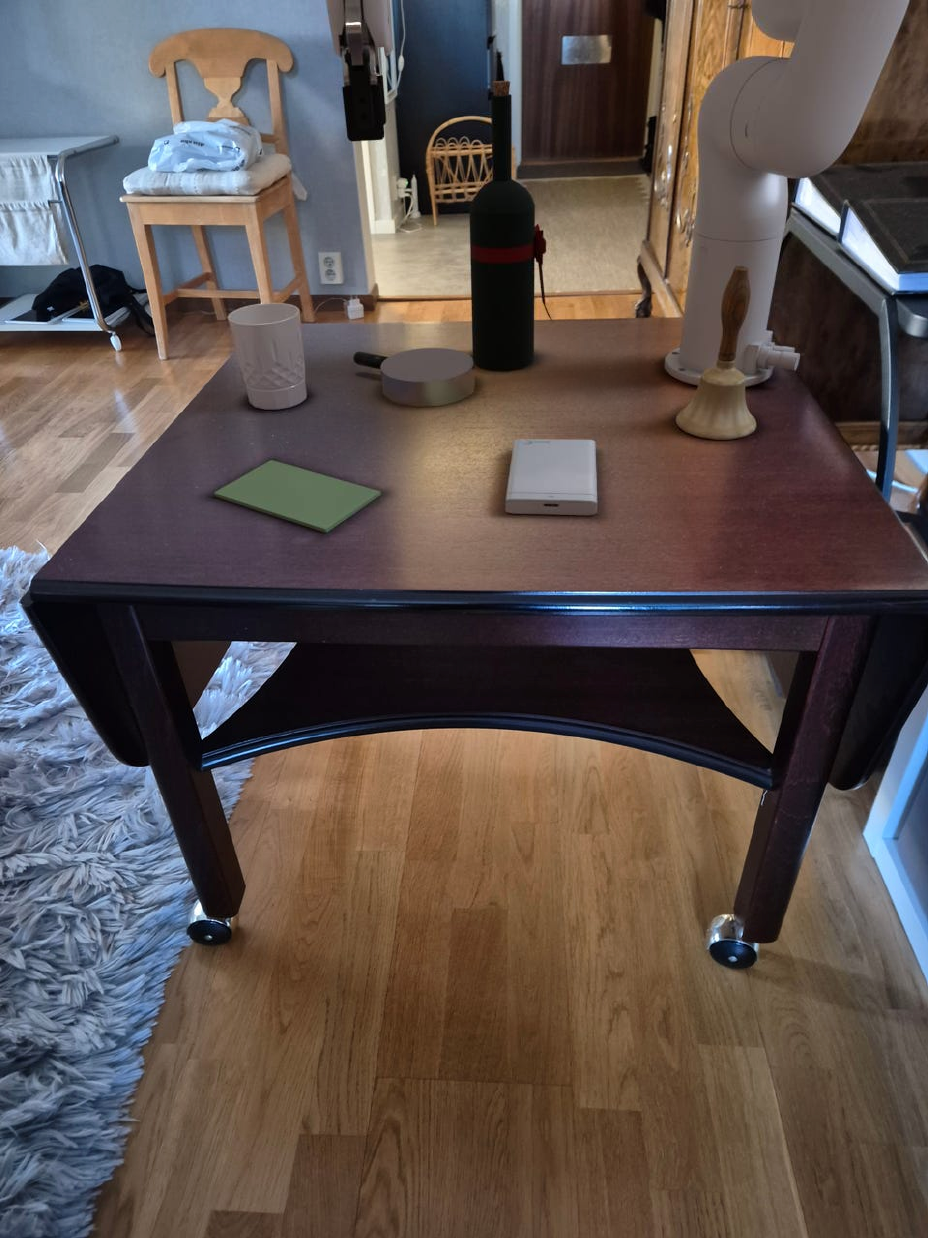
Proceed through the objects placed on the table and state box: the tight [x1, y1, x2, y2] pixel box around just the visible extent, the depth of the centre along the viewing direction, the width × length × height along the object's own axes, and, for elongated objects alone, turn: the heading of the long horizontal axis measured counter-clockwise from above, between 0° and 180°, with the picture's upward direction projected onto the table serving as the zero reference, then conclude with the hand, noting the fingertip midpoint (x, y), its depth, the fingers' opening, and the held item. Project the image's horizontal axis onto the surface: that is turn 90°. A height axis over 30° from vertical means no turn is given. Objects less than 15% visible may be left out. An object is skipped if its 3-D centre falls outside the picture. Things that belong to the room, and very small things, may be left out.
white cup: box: [227, 302, 308, 411], centre depth 97 cm, size 8×8×10 cm
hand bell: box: [675, 266, 757, 441], centre depth 85 cm, size 8×8×16 cm
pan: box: [352, 347, 476, 408], centre depth 101 cm, size 16×11×3 cm, turn 57°
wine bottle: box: [468, 80, 555, 372], centre depth 99 cm, size 8×10×30 cm
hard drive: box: [505, 438, 598, 516], centre depth 80 cm, size 2×8×12 cm
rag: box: [213, 459, 382, 534], centre depth 80 cm, size 14×8×1 cm, turn 57°
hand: (368, 132), depth 77 cm, fingers open, 9 cm apart
